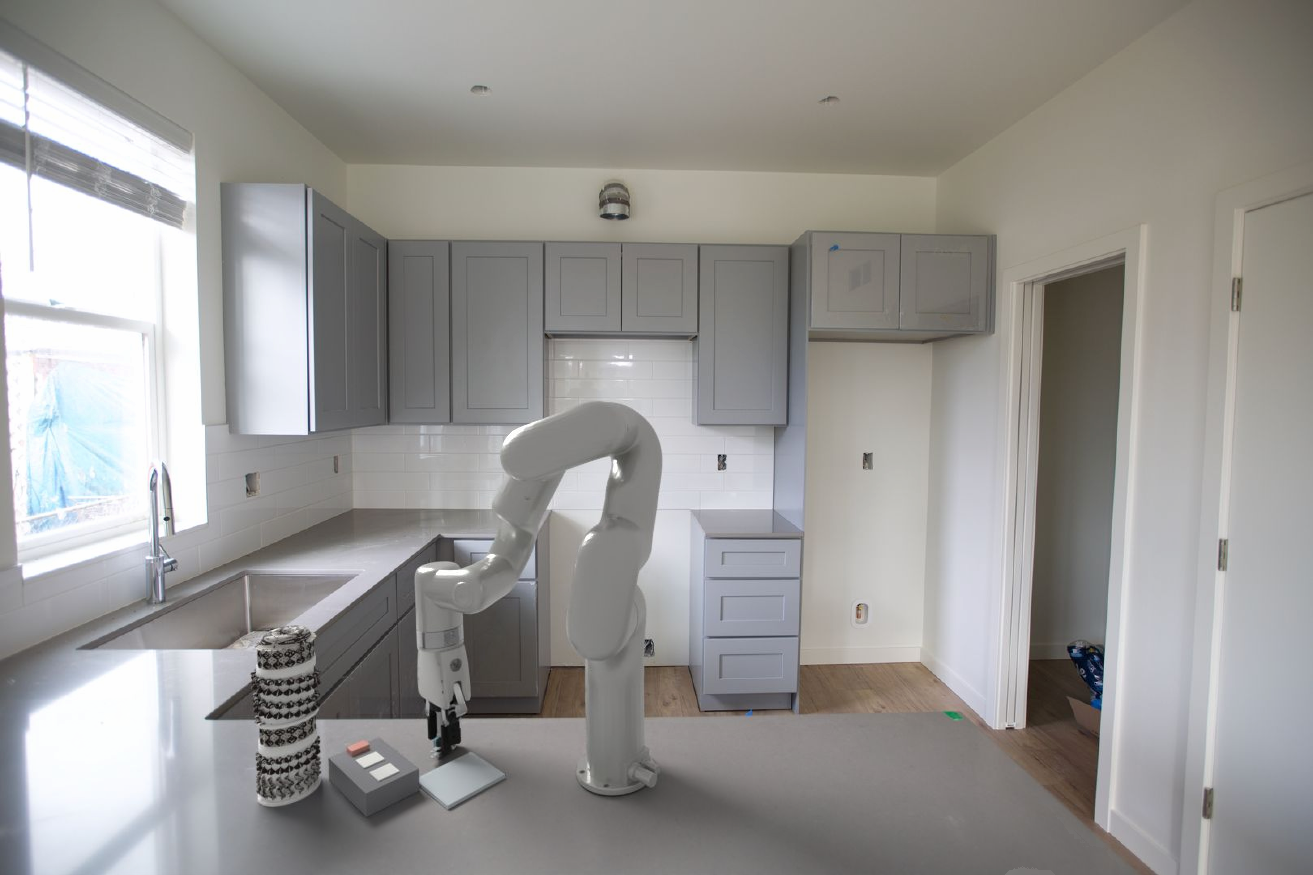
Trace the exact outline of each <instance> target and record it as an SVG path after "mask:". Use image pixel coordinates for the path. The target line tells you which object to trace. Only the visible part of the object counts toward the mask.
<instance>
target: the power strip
mask: <svg viewBox="0 0 1313 875" xmlns="http://www.w3.org/2000/svg"><path fill="white" fill-rule="evenodd" d="M327 762H328V780H329V781H330V782H331V783H332V785H334V786H335V787H336V788H337V789H338V790H339V791H340V793H342V794H343V795H344V796H345V797H346V798H347V799H348V800H349V801H350V802H351V803H352V804H353V806H354V807H355V808H356V809H358V811H360V813H362V814H363V816H364V817H365V818H368V817H370V816H373V815H374V814H376V813H378V812H380V811H382V810H384V809H385V808H388V807H390V806H392V805H393V804H396V803H398V802H400V801H402V800H404V799H406V798H408V797H410V796H412V795H414V794H416V793H417V792H419V791H420V787H419V777H420V768H419V767H418V766H417V765H416V764H414V763H413V762H412V761H410V760H409V759H408V758H407V757H405V755H403V754H401V753H400V752H399V751H398V750H396V749H395V748H394V747H392V746H391V745H390V744H389V743H387V742H386V741H385V740H383V739H382V738H381V737H380V736H377V737H376V738H372V739H371V740H368V741H366V740H365V739H363V740H361V741H359V742H355V743H354V744H351V745H349V746H347V747H346V750H344V751H341V752H339V753H336V754H334V755H332V756H329V757H328V761H327Z"/></svg>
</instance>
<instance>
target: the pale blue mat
mask: <svg viewBox="0 0 1313 875" xmlns="http://www.w3.org/2000/svg"><path fill="white" fill-rule="evenodd" d="M504 779H506V773H504V772H502V771H501V770H500V769H498V768H496V767H495V766H493V765H492V764H491V763H489V762H487V761H486V760H484V759H483V758H481V757H480V756H479V755H477V754H475V753H474V752H472V751H469V752H468V753H465V754H463V755H462V756H460V757H457V758H455V759H453V760H451V761H449V762H447V763H445V764H442V765H441V766H438V767H437V768H434V769H432V770H431V771H428V772H426V773H423V774H422V775H419V788H421V789H422V790H423V791H424V792H425V793H427V794H428V795H429V796H430V797H432V798H433V799H434V800H435V801H436V802H438V803H439V804H440V805H441V806H443V807H444V809H446V810H450V809H451V808H453V807H456V806H457V805H460V804H461V803H462V802H464V801H467V800H468V799H470V798H472V797H473V796H475V795H477V794H480V792H482V791H485V790H486V789H488V788H490V787H491V786H493V785H495V784H497V783H499V782H501V781H503V780H504Z"/></svg>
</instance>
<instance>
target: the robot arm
mask: <svg viewBox="0 0 1313 875" xmlns="http://www.w3.org/2000/svg"><path fill="white" fill-rule="evenodd" d="M499 454H500V455H499V459H500V460H499V461H500V464H501V466H502V469H503V470H504V472H505V476H504V478H503V480H502V482H501V484H500V486H499V488H498V489H497V491H496V494H495V496H494V497H493V499H492V502H491V509H492V512H493V514H494V515H495V516H496V517H497V518H498V520H499V523H498V524H499V525H498V529H497V532H496V536H495V537H494V539H493V541H492V543H491V546H490V548H489V549H488V552H487V553H486V555H485V557H484V558H482V559H481V560H478V561H477V562H475V563H473V564H471V565H468V566H465V567H463V568H462V567H460V565H459V564H458V563H456V562H453V561H448V560H447V561H446V560H445V561H433V562H429V563H426V564H422V565H420V566H419V567H418V568H417V569H416V570H415V574H414V600H415V626H416V627H415V628H416V632H415V633H416V648H417V671H416V672H417V688H418V689H417V690H418V694H419V695H420V696H421V697H422V698H423V702H424V704H425V715H426V719H427V720H426V721H427V723H426V724H427V725H426V726H427V739H428V740H429V741H432V740H433V741H434V739H435V738H436V737H437V713H436V712H435V711H432V710H431V708H430V704H429V701H430V702H431V703H433V704H435V705H437V706H439V707H440V708H441V711H442V720H443V725H441V747H442V748H443V749H446V748H448V747H450V746H452V745H455V744H456V745H458V744H457V743H459V742H460V728H461V725H460V722H461V720H462V716H464V715H465V714H466V713H467V712H468V708H467V705H466V702H468V701H470V700H471V695H472V694H471V681H470V680H471V678H470V672H469V671H470V670H469V669H470V668H469V662H468V657H467V656H468V655H467V649H466V646H465V643H464V619H463V618H464V617H463V616H464V615H466V614H467V615H473V614H478V613H480V612H483V611H484V610H486V609H487V608H489V607H490V606H491V605H493V604H494V603H495V602H498V601H499V600H500V599H502V598H503V597H505V596H507V595H508V594H509V593H510V592H511V591H512V590H513V589H514V588H515V586H516V585H517V584H518V581H519V580H520V577H521V576H522V573H524V570H525V568H526V566H527V564H528V563H529V560H530V558H531V556H532V554H533V551H534V548H535V546H536V541H537V537H538V533H539V525H540V522H541V520H542V518H543V516H544V515H545V514H546V513H545V512H546V511H547V509H548V507H549V505H550V503H551V500H552V499H553V497H554V495H555V494H556V490H558V487H559V485H560V483H561V482H562V479H563V477H564V475H565V473H566V471H567V470H570V469H574V468H576V467H579V466H583V465H585V464H587V463H590V462H593V461H598V460H600V459H604V458H606V457H610V460H611V468H610V472H609V474H608V479H607V482H606V487H605V494H604V497H605V498H604V502H603V507H602V513H601V516H600V520H599V522H598V523H597V524H596V525H595V526H593V527H592V528H590V529H589V530H588V531H587V533H585V535H584V536H583V537H582V540H581V541H580V543H579V547H578V549H577V552H576V555H575V561H574V567H573V573H572V579H571V580H572V581H571V584H570V591H569V592H570V593H569V598H568V604H567V610H566V612H567V613H566V618H565V619H566V620H565V625H566V626H565V628H566V635H567V639H568V641H569V644H570V646H571V647H572V649H573V650H574V651H575V652H576V653H577V655H579V656H580V657H582V658H583V659H584V660H585V661H584V662H585V663H584V665H585V666H584V673H585V674H584V682H585V683H584V687H585V688H584V690H585V693H584V695H585V697H584V698H585V703H584V704H585V754H584V755H583V756H581V757H580V759H579V760H578V762H577V765H576V778H577V781H578V783H579V784H580V785H581V786H582V787H583V788H585V789H586V790H587V791H590V792H592V793H594V794H597V795H602V796H603V795H604V796H621V795H627V794H628V795H629V794H631V793H634V792H636V791H639V790H640V789H642V788H644V787H645V786H647V787H648V788H654V787H655V786H656V784H657V781H658V775H659V774H660V772H661V769H662V766H661V765H660V764H658V763H655V761H654V759H653V757H652V756H651V754H650V747H648V746H646V745H645V741H646V740H645V739H646V738H645V645H646V644H645V640H646V624H647V602H646V599H645V596H644V595H645V594H644V593H643V591H642V589H641V587H640V586H639V585H638V584H637V583H638V578H639V574H640V572H641V570H642V569H643V567H644V566H645V565H646V564H647V562H648V561H649V559H650V556H651V553H652V549H653V539H654V538H653V537H654V531H655V524H656V518H657V513H658V512H657V511H658V502H659V494H660V487H661V481H662V473H663V451H662V445H661V442H660V439H659V437H658V434H657V432H656V430H655V428H654V427H653V426H652V424H651V423H650V422H649V421H648V420H647V418H645V417H644V415H642V414H641V413H639V412H638V411H637V410H636V409H633V408H632V407H629V406H628V405H626V404H622V403H618V402H612V401H601V400H600V401H599V400H595V401H593V400H592V401H588V402H587V401H586V402H584V403H580V404H578V405H577V404H576V405H575V406H572V407H569V408H567V409H564V410H562V411H559V412H557V413H554V414H551V415H549V416H546V417H543V418H541V419H539V420H535V421H532V422H530V423H527V424H524V425H522V426H519V427H518V428H516V429H513V430H512V431H511V432H510V433H509V434H508V435H507V437H506V438H505V439H504V441H503V443H502V444H501V449H500V453H499ZM452 700H453V701H454V703H451V704H450V702H451V701H452ZM451 708H454V711H452V712H450V714H449V715H448V710H449V709H451Z"/></svg>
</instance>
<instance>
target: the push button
mask: <svg viewBox="0 0 1313 875" xmlns="http://www.w3.org/2000/svg"><path fill="white" fill-rule="evenodd" d="M451 703H454V701H453V700H452V701H451V702H450V704H451ZM429 704H430V708H431V710H432V711H435V712H436V713H437V737H436V738H435V739H433V741H432V742H433V749H432V750H430V751H429V752H430V753H432V755H431V756H430V759H435V758H436V757H438V756H445V755H446V754H447V753H448V752H450V750H452V751H453V750H454V749H455V748H457V745H459V744H461V742H462V728H461V727H460V742H459V743H457V744H455V745H452V746H450V747H448V748H446V749H443V748H442V747H441V725H443V720H442V711H441V708H440V707H439V706H437V705H435V704H433V703H431V702H430V701H429ZM452 711H454V708H451V709H449V710H448V715H449V714H450V712H452Z"/></svg>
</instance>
